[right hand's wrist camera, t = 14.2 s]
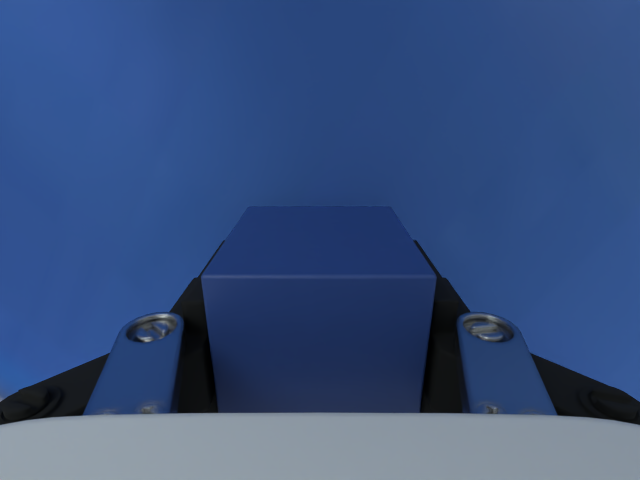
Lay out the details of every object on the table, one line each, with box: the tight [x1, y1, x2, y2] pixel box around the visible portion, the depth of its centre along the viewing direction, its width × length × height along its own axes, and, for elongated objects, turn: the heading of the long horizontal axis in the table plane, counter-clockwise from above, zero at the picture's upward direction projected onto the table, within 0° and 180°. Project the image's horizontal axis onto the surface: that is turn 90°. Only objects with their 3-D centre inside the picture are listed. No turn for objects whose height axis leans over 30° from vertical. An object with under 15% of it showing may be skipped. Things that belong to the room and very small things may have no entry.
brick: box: [201, 207, 437, 413], centre depth 10 cm, size 5×5×5 cm
